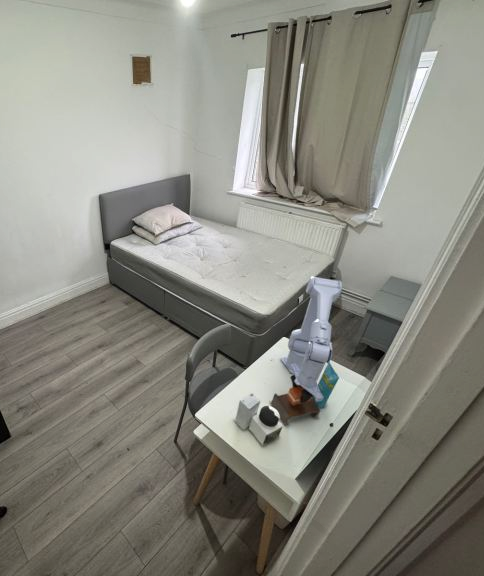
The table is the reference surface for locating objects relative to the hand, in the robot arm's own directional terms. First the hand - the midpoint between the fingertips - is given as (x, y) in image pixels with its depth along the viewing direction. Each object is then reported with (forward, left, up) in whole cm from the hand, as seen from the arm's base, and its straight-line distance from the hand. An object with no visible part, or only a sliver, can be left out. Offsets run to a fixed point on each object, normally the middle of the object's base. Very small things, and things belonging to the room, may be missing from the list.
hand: (299, 396), depth 107 cm
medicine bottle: (+15, +5, -9) cm, 18 cm away
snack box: (0, 0, -1) cm, 1 cm away
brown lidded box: (0, 0, -8) cm, 8 cm away
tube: (-11, -1, -9) cm, 14 cm away
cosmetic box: (+20, 0, -9) cm, 21 cm away
